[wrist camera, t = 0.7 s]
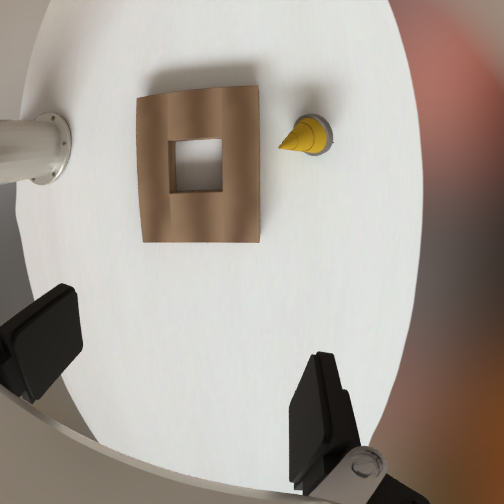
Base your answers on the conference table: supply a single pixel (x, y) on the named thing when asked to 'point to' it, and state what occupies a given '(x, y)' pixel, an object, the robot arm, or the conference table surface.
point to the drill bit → (309, 136)
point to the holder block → (233, 165)
